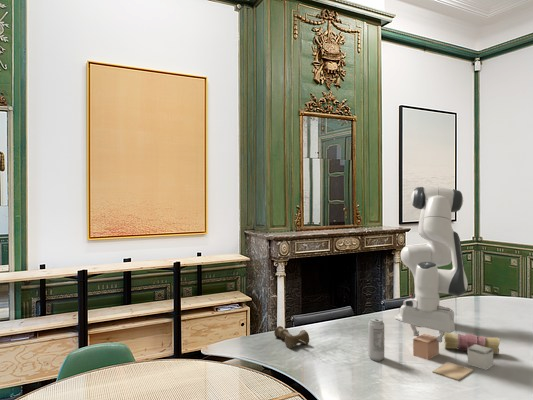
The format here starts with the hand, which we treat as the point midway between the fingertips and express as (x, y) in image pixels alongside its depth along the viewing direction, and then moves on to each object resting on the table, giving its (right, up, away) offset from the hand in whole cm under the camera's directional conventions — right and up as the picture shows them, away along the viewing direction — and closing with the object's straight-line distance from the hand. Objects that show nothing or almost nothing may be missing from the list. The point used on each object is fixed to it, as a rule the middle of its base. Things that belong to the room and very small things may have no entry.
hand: (427, 338), depth 156 cm
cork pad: (+3, -6, -15) cm, 17 cm away
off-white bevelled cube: (+16, -6, -9) cm, 19 cm away
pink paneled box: (0, -7, +1) cm, 6 cm away
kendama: (-53, -7, +14) cm, 55 cm away
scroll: (+19, -7, +4) cm, 21 cm away
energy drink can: (-21, -7, -3) cm, 22 cm away
